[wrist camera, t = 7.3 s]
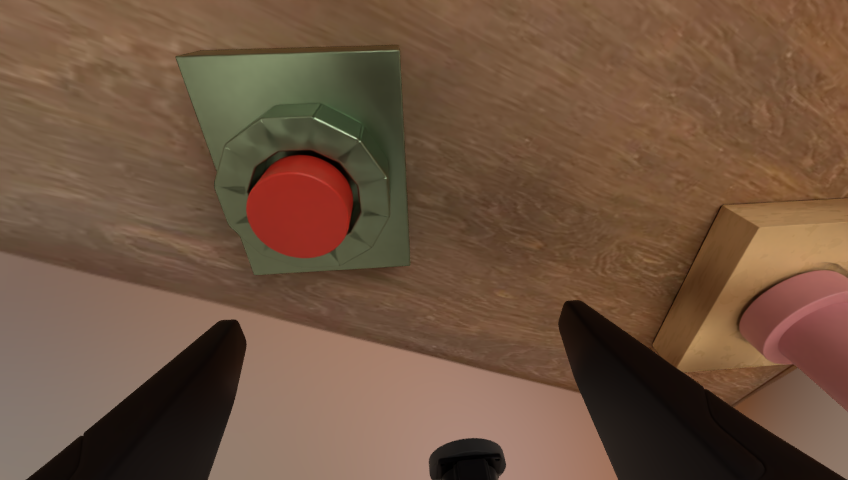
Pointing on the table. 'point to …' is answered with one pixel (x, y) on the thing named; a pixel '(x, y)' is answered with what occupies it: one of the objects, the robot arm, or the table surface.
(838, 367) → the doll
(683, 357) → the doll stand
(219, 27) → the table surface
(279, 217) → the button
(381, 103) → the green button box
